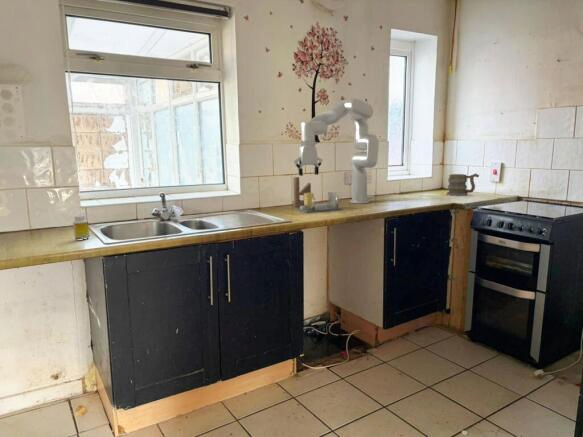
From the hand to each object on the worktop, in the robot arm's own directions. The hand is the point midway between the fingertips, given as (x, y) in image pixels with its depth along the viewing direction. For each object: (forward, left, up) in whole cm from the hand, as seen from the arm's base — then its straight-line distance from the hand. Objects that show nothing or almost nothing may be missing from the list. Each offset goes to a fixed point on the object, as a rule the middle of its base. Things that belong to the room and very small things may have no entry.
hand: (308, 175), depth 247 cm
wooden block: (-4, -18, -21) cm, 27 cm away
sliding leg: (0, +2, -19) cm, 19 cm away
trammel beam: (-5, +2, -19) cm, 20 cm away
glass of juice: (+117, +19, -21) cm, 121 cm away
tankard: (-120, -5, -21) cm, 122 cm away
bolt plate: (-6, +1, -20) cm, 21 cm away
